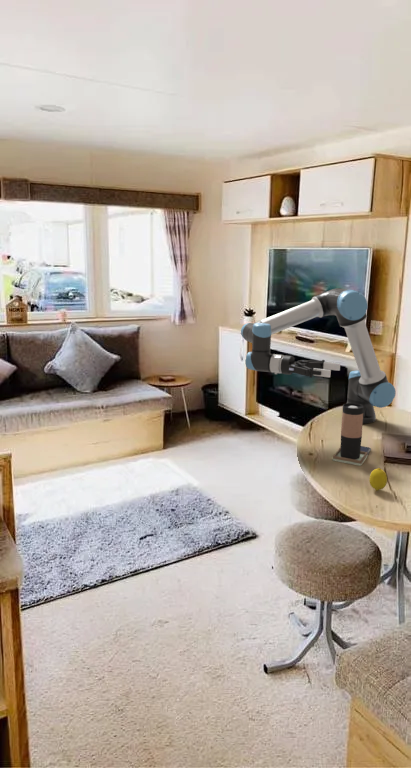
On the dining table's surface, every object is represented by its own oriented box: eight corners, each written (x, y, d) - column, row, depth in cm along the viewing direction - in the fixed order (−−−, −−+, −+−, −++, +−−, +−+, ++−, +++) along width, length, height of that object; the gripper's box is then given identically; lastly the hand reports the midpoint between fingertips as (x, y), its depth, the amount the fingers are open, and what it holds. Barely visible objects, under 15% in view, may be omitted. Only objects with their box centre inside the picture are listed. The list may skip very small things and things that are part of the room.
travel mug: (335, 455, 213) (338, 405, 208) (347, 451, 217) (350, 401, 212) (352, 461, 207) (355, 409, 202) (364, 456, 212) (368, 406, 207)
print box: (339, 451, 219) (340, 447, 219) (367, 456, 214) (367, 452, 214) (332, 460, 210) (332, 455, 210) (360, 465, 205) (361, 461, 205)
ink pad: (345, 446, 225) (345, 442, 225) (370, 450, 221) (370, 447, 221) (340, 451, 219) (340, 448, 219) (366, 456, 214) (366, 453, 214)
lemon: (366, 491, 184) (368, 468, 182) (371, 485, 188) (373, 463, 186) (383, 495, 181) (385, 472, 179) (387, 489, 185) (390, 467, 183)
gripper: (293, 367, 236) (342, 373, 226) (271, 379, 214) (325, 386, 205) (293, 350, 234) (344, 355, 224) (272, 360, 213) (326, 366, 203)
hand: (335, 370), depth 214 cm, fingers open, 13 cm apart
